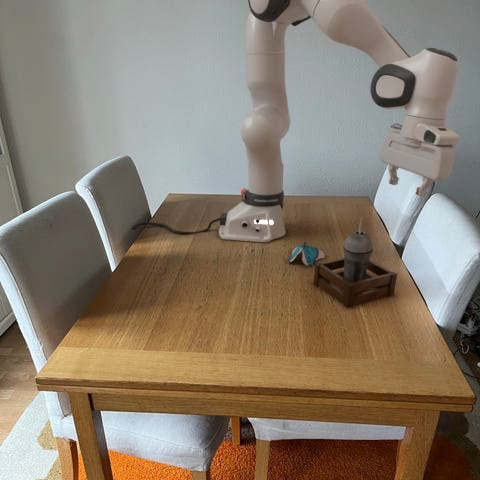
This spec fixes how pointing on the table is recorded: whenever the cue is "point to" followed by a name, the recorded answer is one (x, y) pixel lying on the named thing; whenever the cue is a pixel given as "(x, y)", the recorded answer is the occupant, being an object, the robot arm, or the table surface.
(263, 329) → the table surface
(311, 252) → the decorative butterfly
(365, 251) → the beverage cup
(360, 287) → the crate
